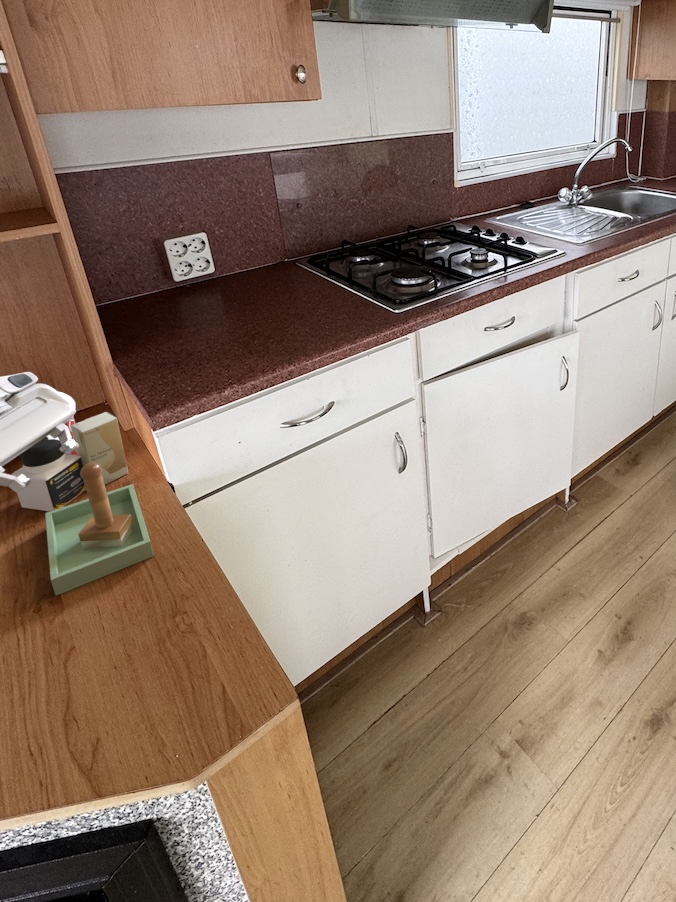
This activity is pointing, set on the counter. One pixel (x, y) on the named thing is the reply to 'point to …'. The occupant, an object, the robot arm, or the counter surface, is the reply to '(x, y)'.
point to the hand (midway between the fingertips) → (50, 468)
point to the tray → (90, 564)
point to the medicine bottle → (49, 476)
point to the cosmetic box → (101, 445)
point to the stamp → (102, 514)
